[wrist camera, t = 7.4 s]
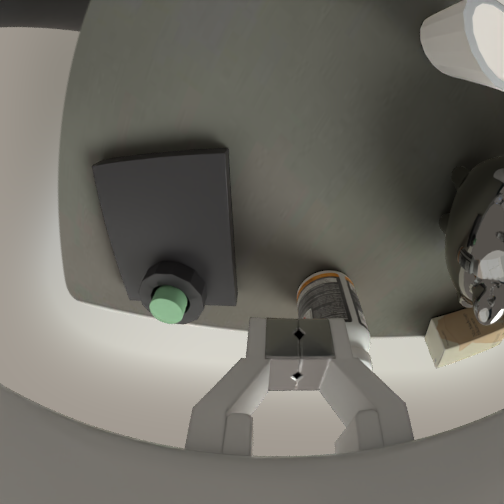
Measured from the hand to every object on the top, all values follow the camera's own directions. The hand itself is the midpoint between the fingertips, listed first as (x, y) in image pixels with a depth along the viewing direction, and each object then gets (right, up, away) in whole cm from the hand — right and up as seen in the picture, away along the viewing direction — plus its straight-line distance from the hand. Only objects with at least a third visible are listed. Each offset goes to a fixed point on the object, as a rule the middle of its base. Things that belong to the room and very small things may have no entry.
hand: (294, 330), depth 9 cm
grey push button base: (-8, +4, +15) cm, 18 cm away
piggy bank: (+19, +7, +12) cm, 23 cm away
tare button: (-9, -2, +15) cm, 18 cm away
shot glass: (+14, +19, +4) cm, 24 cm away
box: (+31, -6, +17) cm, 36 cm away
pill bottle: (+6, -1, +18) cm, 19 cm away
